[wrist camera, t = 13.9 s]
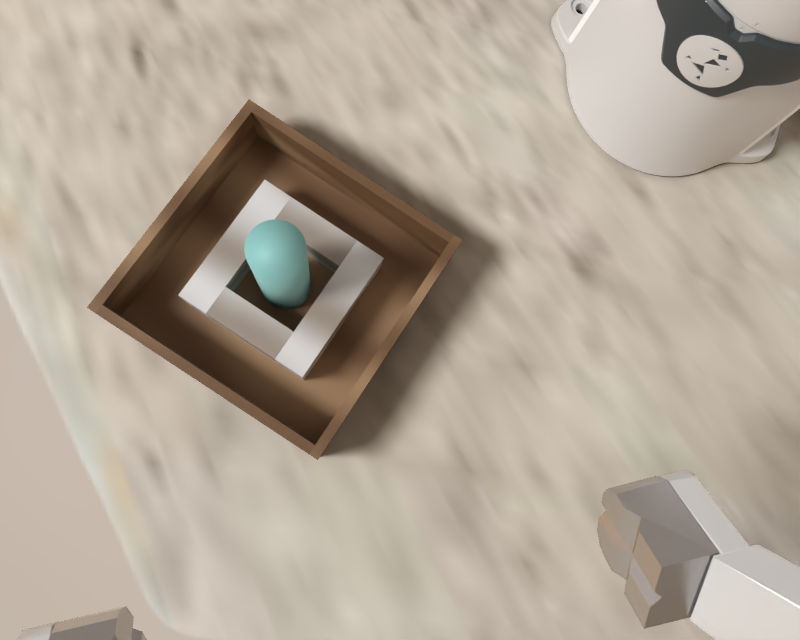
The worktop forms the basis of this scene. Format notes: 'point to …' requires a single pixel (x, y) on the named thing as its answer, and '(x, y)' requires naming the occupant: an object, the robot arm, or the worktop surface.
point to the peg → (279, 263)
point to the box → (241, 295)
